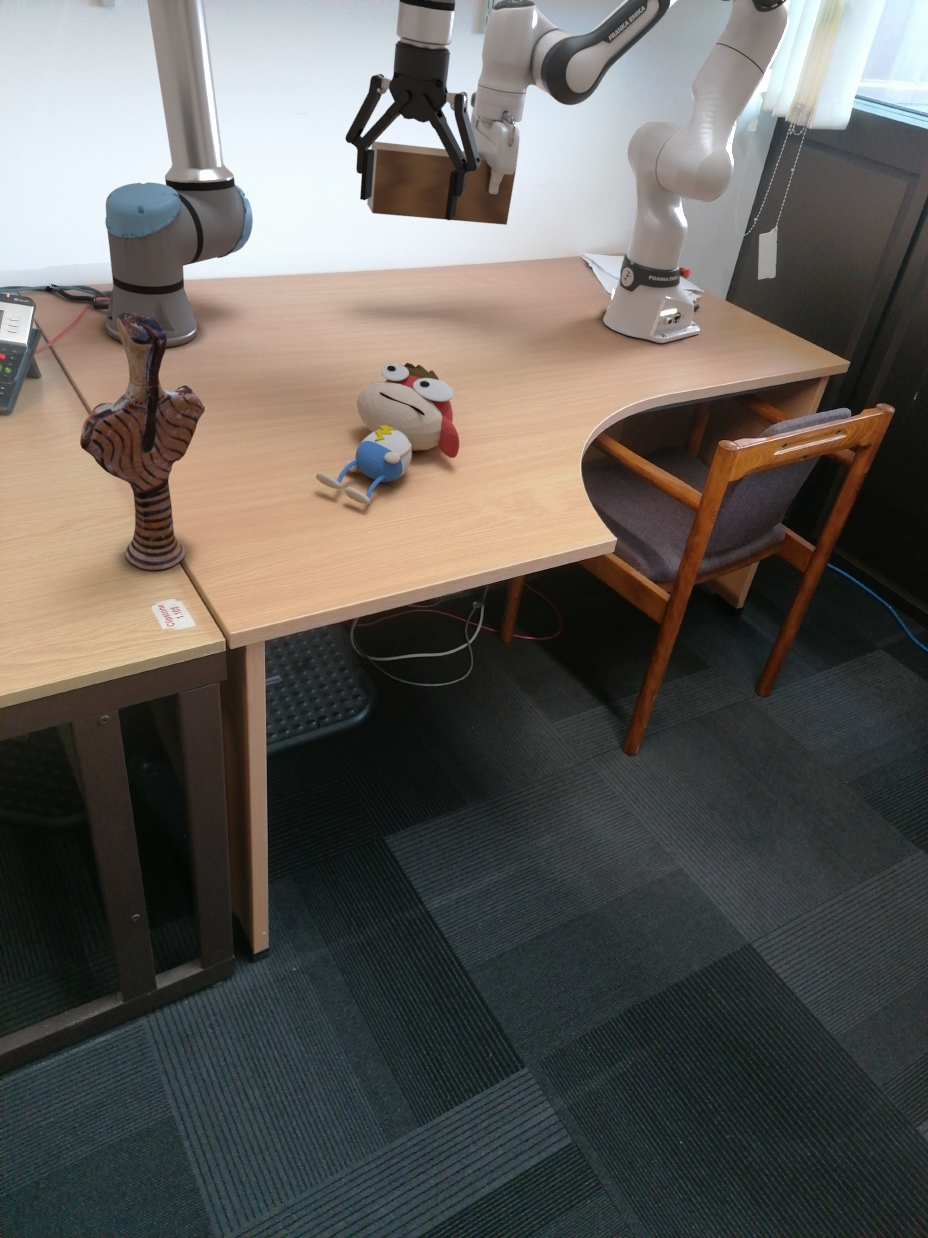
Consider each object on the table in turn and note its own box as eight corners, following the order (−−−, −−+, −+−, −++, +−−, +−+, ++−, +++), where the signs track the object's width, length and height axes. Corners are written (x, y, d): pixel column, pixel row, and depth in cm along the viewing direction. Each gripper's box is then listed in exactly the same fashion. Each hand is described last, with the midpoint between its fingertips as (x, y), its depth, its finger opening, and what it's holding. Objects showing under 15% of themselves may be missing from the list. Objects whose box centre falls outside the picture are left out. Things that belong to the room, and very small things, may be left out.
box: (372, 213, 165) (377, 148, 158) (367, 204, 169) (371, 140, 163) (506, 224, 173) (517, 163, 166) (498, 215, 177) (508, 155, 170)
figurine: (185, 519, 115) (170, 285, 96) (226, 544, 112) (219, 308, 93) (85, 564, 105) (47, 314, 86) (127, 593, 102) (97, 341, 83)
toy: (278, 428, 121) (396, 343, 140) (277, 485, 128) (389, 398, 148) (391, 486, 117) (497, 391, 136) (384, 542, 124) (485, 444, 143)
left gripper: (517, 58, 122) (492, 220, 135) (349, 23, 126) (341, 184, 139) (503, 63, 116) (478, 232, 130) (327, 26, 120) (321, 194, 133)
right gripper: (532, 120, 155) (518, 204, 163) (500, 96, 170) (488, 174, 178) (498, 116, 153) (485, 201, 162) (468, 92, 168) (458, 171, 177)
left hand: (407, 208), depth 134 cm, fingers open, 13 cm apart
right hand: (487, 187), depth 170 cm, fingers closed on box, 6 cm apart
